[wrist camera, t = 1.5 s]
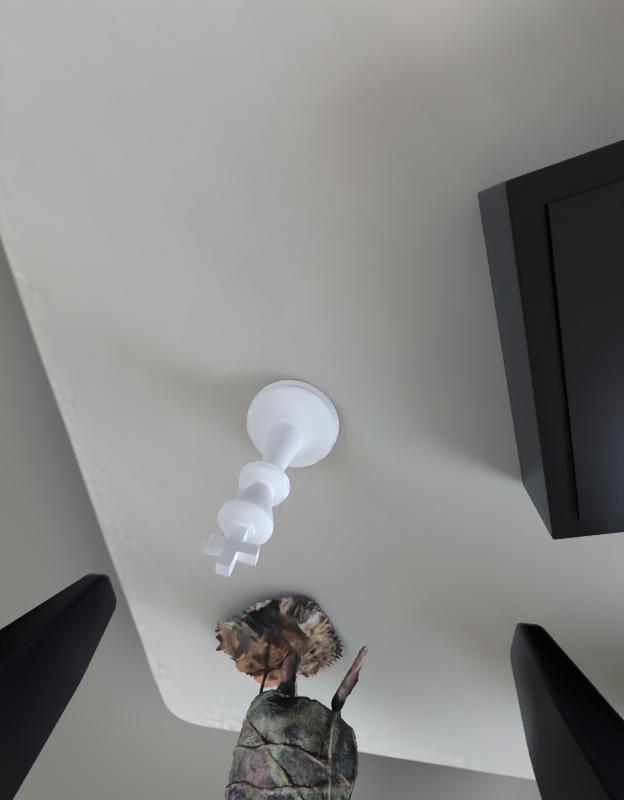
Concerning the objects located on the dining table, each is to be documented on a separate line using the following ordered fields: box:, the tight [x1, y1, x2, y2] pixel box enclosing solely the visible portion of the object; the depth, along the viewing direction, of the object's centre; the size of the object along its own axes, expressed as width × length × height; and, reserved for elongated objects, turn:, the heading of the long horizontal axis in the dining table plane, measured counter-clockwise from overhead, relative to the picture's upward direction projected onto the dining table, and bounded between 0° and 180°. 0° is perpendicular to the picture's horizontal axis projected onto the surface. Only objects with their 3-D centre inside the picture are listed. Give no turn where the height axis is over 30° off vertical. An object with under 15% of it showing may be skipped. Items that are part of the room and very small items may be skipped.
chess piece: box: [205, 380, 339, 577], centre depth 16 cm, size 5×5×10 cm
